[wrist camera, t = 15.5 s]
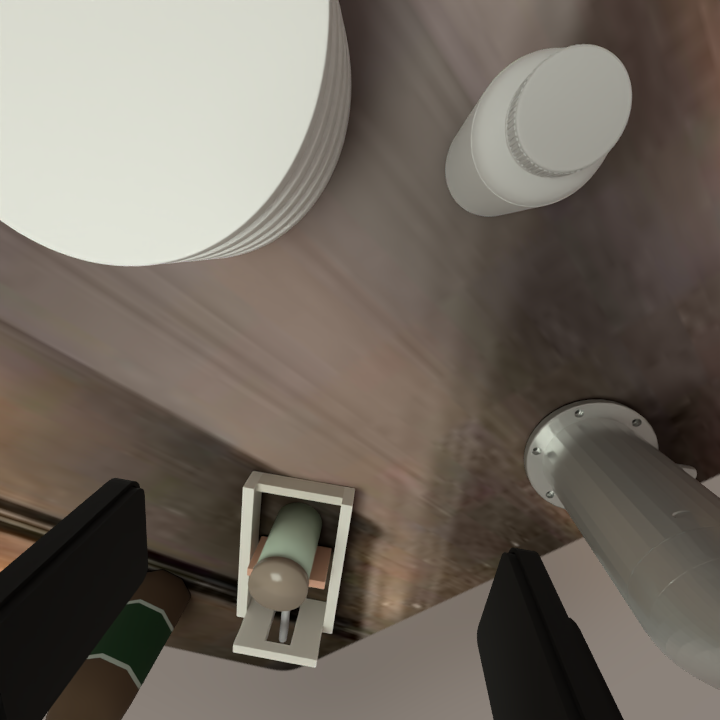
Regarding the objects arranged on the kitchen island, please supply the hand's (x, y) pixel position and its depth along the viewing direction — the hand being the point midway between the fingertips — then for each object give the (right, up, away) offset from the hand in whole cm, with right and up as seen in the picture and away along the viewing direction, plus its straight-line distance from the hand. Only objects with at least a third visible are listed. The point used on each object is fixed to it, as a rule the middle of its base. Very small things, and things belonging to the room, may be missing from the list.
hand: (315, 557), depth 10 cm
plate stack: (-14, +28, +22) cm, 39 cm away
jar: (-6, -14, +35) cm, 38 cm away
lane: (-7, -17, +36) cm, 40 cm away
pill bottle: (+12, +21, +22) cm, 33 cm away
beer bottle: (-25, -26, +40) cm, 54 cm away
